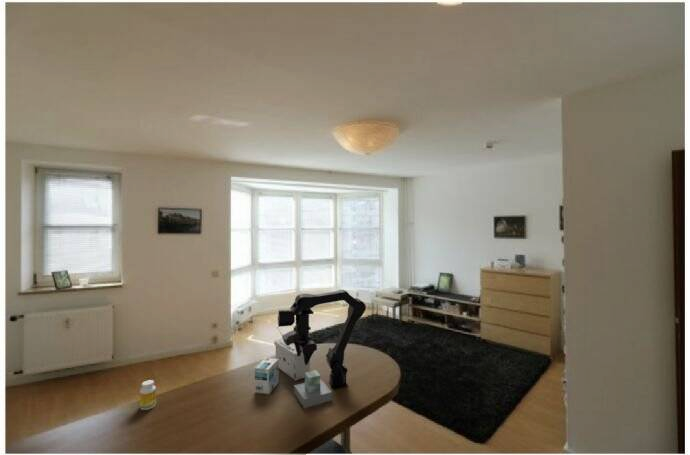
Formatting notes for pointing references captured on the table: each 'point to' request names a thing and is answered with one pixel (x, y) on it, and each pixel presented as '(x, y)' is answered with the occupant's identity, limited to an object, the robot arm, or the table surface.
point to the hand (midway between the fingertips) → (302, 360)
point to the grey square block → (312, 394)
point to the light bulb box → (266, 375)
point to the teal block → (312, 381)
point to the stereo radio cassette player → (290, 360)
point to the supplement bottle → (147, 395)
